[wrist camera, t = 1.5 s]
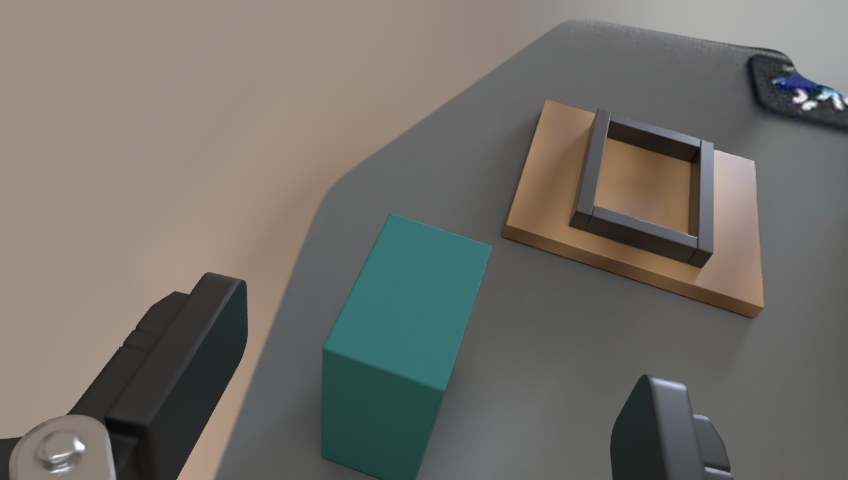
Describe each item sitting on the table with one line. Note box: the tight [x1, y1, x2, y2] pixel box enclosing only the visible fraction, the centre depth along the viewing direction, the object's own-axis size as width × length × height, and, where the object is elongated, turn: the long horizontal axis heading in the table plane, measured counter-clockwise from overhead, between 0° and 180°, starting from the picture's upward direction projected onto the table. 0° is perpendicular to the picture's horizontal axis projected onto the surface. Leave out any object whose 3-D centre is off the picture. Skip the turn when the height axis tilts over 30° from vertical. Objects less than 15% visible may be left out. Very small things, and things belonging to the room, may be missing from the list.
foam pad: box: [322, 213, 492, 480], centre depth 27 cm, size 4×7×10 cm, turn 162°
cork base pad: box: [502, 99, 764, 318], centre depth 42 cm, size 16×14×3 cm
